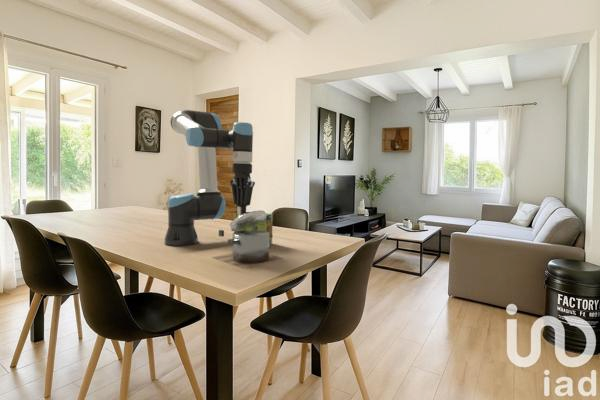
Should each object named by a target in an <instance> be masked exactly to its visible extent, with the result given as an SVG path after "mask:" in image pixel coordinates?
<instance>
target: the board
mask: <svg viewBox="0 0 600 400" xmlns="http://www.w3.org/2000/svg"><path fill="white" fill-rule="evenodd" d="M211 258H212V259H215V260H218V261H221V262H224V263H226V264H229V265H232V266H235V267H238V268H242V269H246V268H249V267H250V268H251V267H254V266H258V265H263V264H265V263H270V262H274V261H278V260H283V259H284V257H281V256H277V255H274V254H270V253H269V260H268V261H265V262H262V263H254V264H245V263H238V262H235V261H233V252H232V253H226V254H221V255H220V254H219V255H217V256H211Z"/></svg>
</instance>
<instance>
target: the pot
mask: <svg viewBox="0 0 600 400" xmlns="http://www.w3.org/2000/svg"><path fill="white" fill-rule="evenodd" d="M218 237H220V238H221V237H225V231H224V230H222V229H219V230H218ZM271 237H272V238H273V233H272V234H269V232H266V231H260V230H257V226H253V229H252V230H243V231H237V232H234V231H233V233H232V238H228V239H227V243H228V244H231V245H232V253H233V261H235V262H238V263H245V264H254V263H262V262H265V261H268V260H269V254H270V245H269V238H271ZM262 264H263V263H262Z"/></svg>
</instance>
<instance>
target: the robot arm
mask: <svg viewBox="0 0 600 400" xmlns="http://www.w3.org/2000/svg"><path fill="white" fill-rule="evenodd" d="M170 126H171V128H172V130H174V132H175V133H177V134H180V135H183V136H184V137H185V141H186V145H188V146H189V147H195V148H197V157H198V177H199V178H198V181H199V189H198V191H197V192H196V196H195V195H194V193H181V194H174V195H171V196H170V197H169V198H168V200H167V215H168V217H167V219H168V220H167V221H168V222H167V223H168V224H167V225H168V226H167V230H166V233H165V236H164V245H167V246H176V247H177V246H191V245H194V244H197V243H198V242H199V237H198V234H197V231H196V228H195V221H203V220H217V219H221V218H222V217H223V216H224V214H225V211H226V198H225V196H224V195H222V194H221V191H220V190H219V189H218V177H217V176H218V174H217V173H218V172H217V157H216V156H217V152H216V149H227V150H232V162H233V164H232V173H234V177H233V179H232V180H231V179H230V181H229V183H230V185H231V192H232V199H233V204H234V205H236V206H237V213H236V214H238V217H239V216H241V215H242V214H244V213H246V212H247V207H248V206H250V205H251V201H252V195H253V191H254V190H253V189H254V187H255V185H256V182H255V181H252V178H251V174H252V173H253V164H252V163H253V142H254V138H253V136H254V131H253V128H254V127H253V124H252V123H250V122H241V121H239V122H238V121H236V122H234V123H233V127H232V129H231V130H230V129H223V128H222V120H221V117H219V115H218V114H217V113H214V112H209V111H201V110H200V111H198V110H190V109H183V110H179V111H176V112H175V113H174V114H173V115H171V118H170Z"/></svg>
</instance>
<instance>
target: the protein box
mask: <svg viewBox="0 0 600 400" xmlns="http://www.w3.org/2000/svg"><path fill="white" fill-rule="evenodd" d="M265 213H266V212H265ZM273 216H274V213H271V212H270V213H268V212H267V213H266V218H265V219H264V220H263V221H261V222H260V223H258V224H256V225H254V226H257V230H260V231H266V232H269V234H273V220H274V218H273ZM236 218H238V213H236V214H234V219H236ZM252 229H253V226H252V227H249V228H246V229H244V230H252ZM237 231H243V230H237ZM237 231H233V233H234V232H237ZM272 244H273V237H271V238H269V246H271V245H272Z"/></svg>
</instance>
